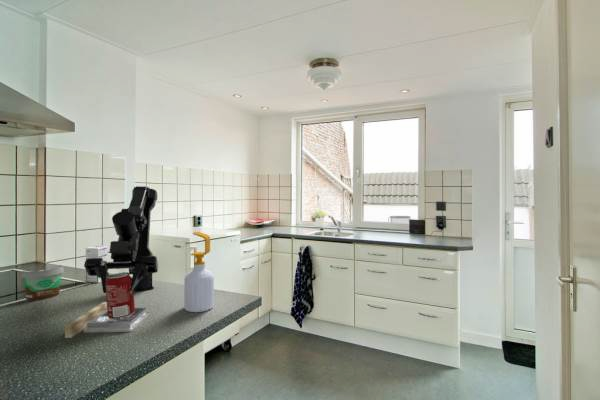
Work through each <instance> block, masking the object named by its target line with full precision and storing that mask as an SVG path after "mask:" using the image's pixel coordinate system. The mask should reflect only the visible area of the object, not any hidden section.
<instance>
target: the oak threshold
mask: <svg viewBox="0 0 600 400" xmlns="http://www.w3.org/2000/svg"><path fill="white" fill-rule="evenodd" d="M106 310H107V301H105V302H104V301H103V302H102V303H100V304H98V305H96V306H95V307H93V308H92V309H90V310H89V311H87V312H85V313H84V314H82V315H80V316H79V317H77V318H75V319H74V320H73V321H70V322H69V323H67V324H66V325H64V338H65V339H67V338H69V339H71V338H73V337H74V336H76V335H77V334H78V333H80V332H82V331H84V329H85V328H87V323H88V322H89V321H91V320H92V319H94V318H95V317H97V316H98V315H100V314H101V313H103V312H104V311H106Z"/></svg>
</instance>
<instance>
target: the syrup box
mask: <svg viewBox="0 0 600 400" xmlns="http://www.w3.org/2000/svg"><path fill="white" fill-rule="evenodd" d="M88 258H102V259H103V261H106V262H108V246H107V245H91V246H87V247H85V261H86V260H87V259H88ZM85 283H95V284H96V283H97V284H98V283H102V282H101V278H99V277H97V276H90V275H88V273H87V271H86V270H85Z"/></svg>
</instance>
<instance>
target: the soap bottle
mask: <svg viewBox="0 0 600 400" xmlns="http://www.w3.org/2000/svg"><path fill="white" fill-rule="evenodd" d="M192 234H193V236H198V237H199V238H202V239H203V240H204V251H194V252H191V254H190V255H191V256H194V258H195V259H196V261H194V262H193V269H192V270H191V271H189V272H188V273H187V274H186V275H185V277H184V281H183V284H184V286H183V287H184V288H183V289H184V293H183V294H184V295H183V296H184V298H183V300H184V302H183V304H184V306H183V307H184V310H185V311H187V312H189V313H203V312H206V311H209V309H210V310H211V309H213V308H214V305H215V302H214V301H215V300H214V299H215V294H214V293H215V292H214V291H215V276H214V273H212V272H211V271H210V270H209V269H206V267H205V266H206V265H205V264H206V261H204V260H203V258H204V257H205V256H206V255H207V254H209V253H210V251H211V236H210V235H208V234H206V233H203V232H200V231H194V232H193V233H192Z"/></svg>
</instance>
